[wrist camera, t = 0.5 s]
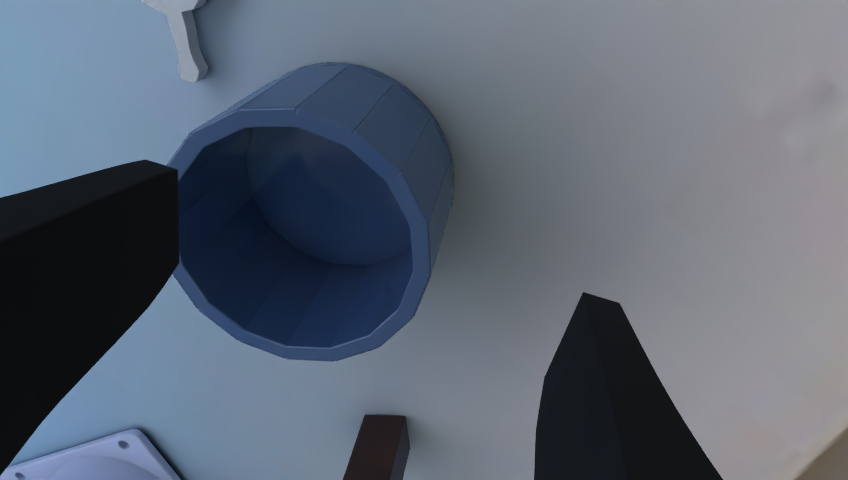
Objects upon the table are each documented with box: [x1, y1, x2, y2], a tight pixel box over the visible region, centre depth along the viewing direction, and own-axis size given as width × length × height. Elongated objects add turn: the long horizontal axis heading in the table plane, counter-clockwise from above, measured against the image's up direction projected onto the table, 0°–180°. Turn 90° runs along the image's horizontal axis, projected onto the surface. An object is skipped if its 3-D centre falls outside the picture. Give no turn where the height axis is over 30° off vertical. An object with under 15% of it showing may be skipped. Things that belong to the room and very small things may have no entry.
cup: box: [166, 63, 453, 361], centre depth 19 cm, size 8×8×6 cm
